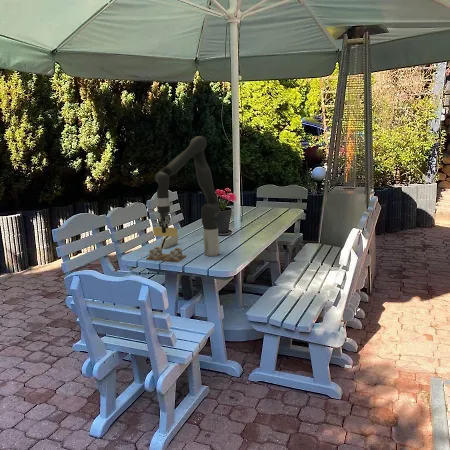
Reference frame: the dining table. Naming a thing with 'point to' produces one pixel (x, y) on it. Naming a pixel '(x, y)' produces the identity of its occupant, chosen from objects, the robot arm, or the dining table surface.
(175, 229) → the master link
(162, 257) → the chain bed
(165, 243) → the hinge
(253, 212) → the dining table surface
